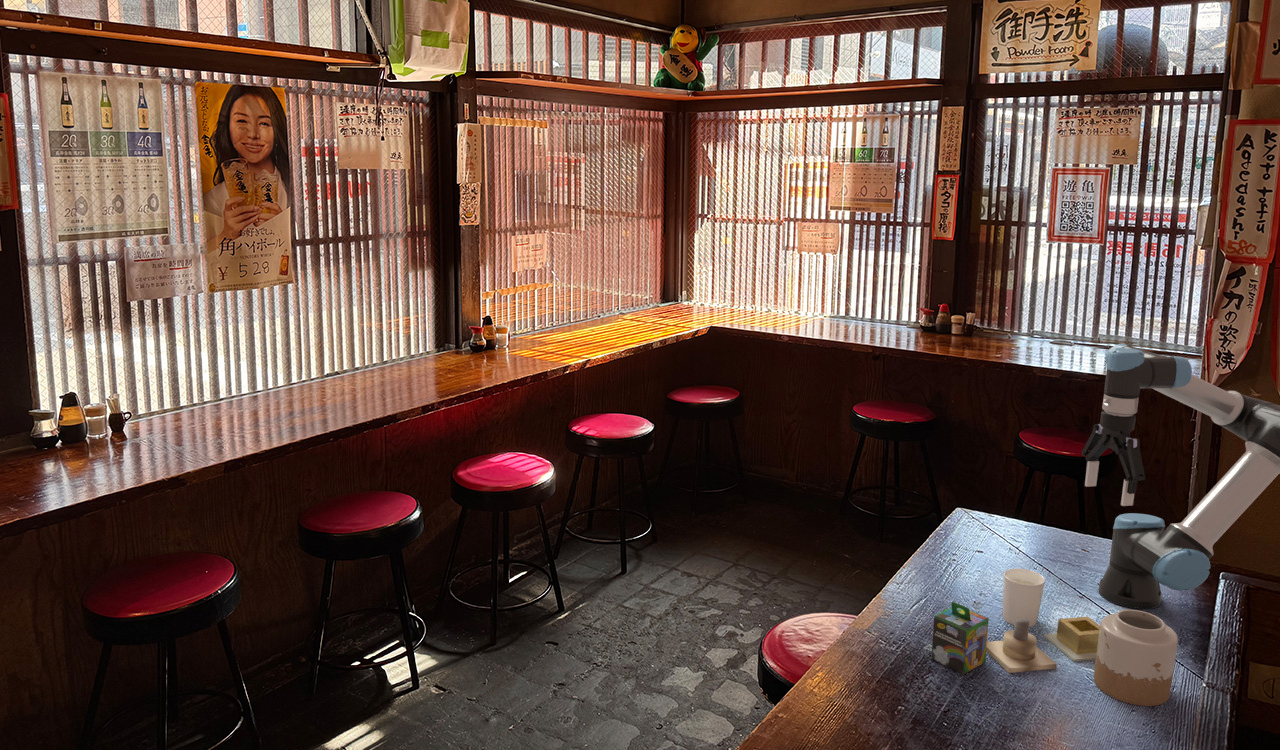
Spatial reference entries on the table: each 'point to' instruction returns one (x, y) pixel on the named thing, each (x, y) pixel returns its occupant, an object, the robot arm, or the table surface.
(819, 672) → the table surface
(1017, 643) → the stand
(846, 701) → the table surface
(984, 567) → the table surface
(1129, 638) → the vase
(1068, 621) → the square wooden frame
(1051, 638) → the felt mat
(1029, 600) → the candle holder
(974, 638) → the chalk box
